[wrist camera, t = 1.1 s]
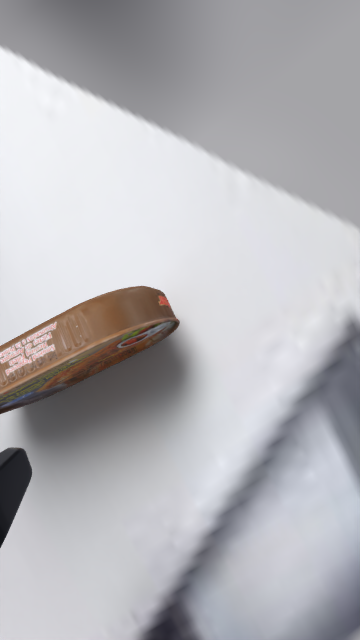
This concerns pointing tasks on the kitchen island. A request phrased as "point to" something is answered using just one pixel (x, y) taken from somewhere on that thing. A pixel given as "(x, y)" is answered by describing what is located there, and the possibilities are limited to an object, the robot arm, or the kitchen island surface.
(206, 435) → the kitchen island surface
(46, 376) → the tin
